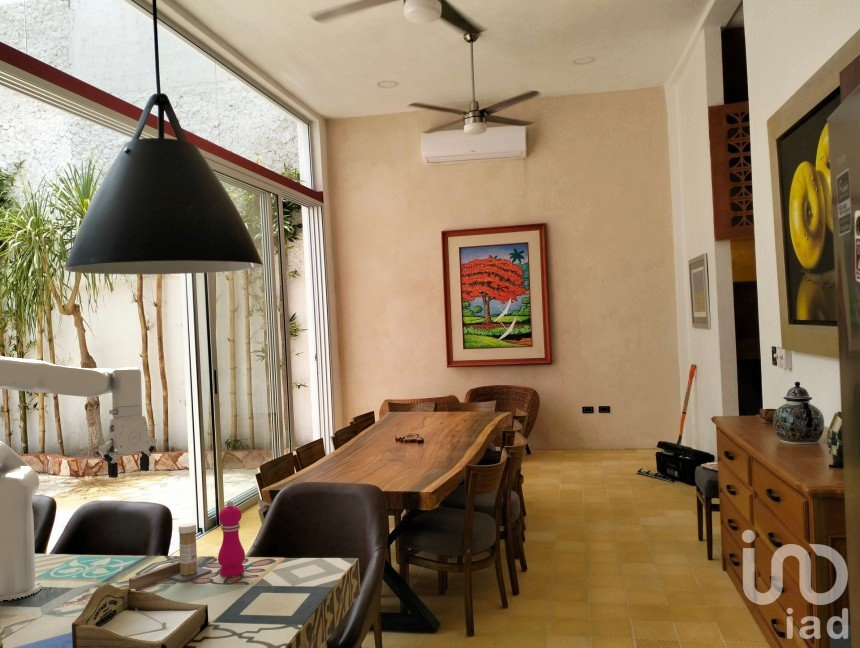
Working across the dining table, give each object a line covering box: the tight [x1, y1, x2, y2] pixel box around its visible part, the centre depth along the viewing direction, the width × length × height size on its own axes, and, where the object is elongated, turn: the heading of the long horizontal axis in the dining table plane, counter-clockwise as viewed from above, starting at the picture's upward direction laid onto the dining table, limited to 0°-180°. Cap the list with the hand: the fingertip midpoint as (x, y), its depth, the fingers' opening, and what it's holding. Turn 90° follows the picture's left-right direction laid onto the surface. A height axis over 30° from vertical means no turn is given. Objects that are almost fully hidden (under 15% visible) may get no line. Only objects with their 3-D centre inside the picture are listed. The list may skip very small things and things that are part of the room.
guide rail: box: [128, 559, 181, 590], centre depth 186 cm, size 2×17×3 cm, turn 149°
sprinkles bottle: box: [178, 522, 198, 575], centre depth 189 cm, size 5×5×14 cm
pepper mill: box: [217, 500, 246, 578], centre depth 189 cm, size 7×7×20 cm
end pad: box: [167, 566, 212, 583], centre depth 189 cm, size 7×9×1 cm
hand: (129, 473), depth 190 cm, fingers open, 9 cm apart
